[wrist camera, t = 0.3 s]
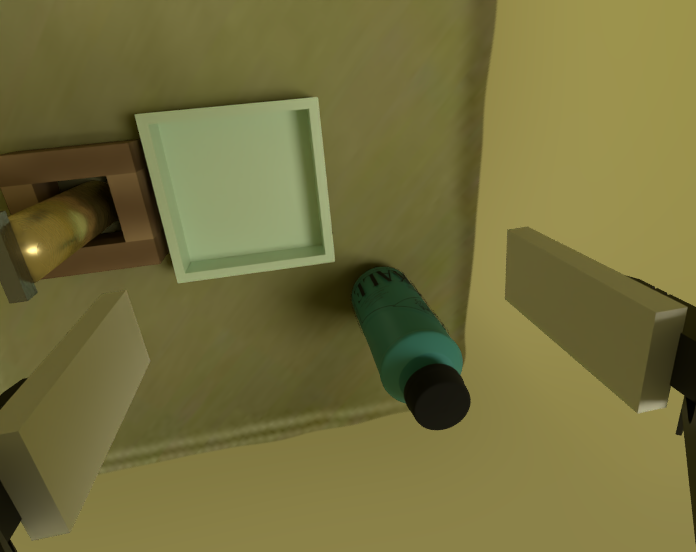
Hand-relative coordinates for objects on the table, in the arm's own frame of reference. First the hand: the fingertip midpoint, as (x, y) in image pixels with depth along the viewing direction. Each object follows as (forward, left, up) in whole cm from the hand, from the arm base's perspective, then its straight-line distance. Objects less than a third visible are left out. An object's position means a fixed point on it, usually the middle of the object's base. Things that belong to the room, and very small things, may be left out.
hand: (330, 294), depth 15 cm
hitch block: (+1, -18, -28) cm, 33 cm away
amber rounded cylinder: (+1, -18, -28) cm, 33 cm away
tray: (+1, -5, -28) cm, 28 cm away
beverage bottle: (+13, +7, -28) cm, 31 cm away
